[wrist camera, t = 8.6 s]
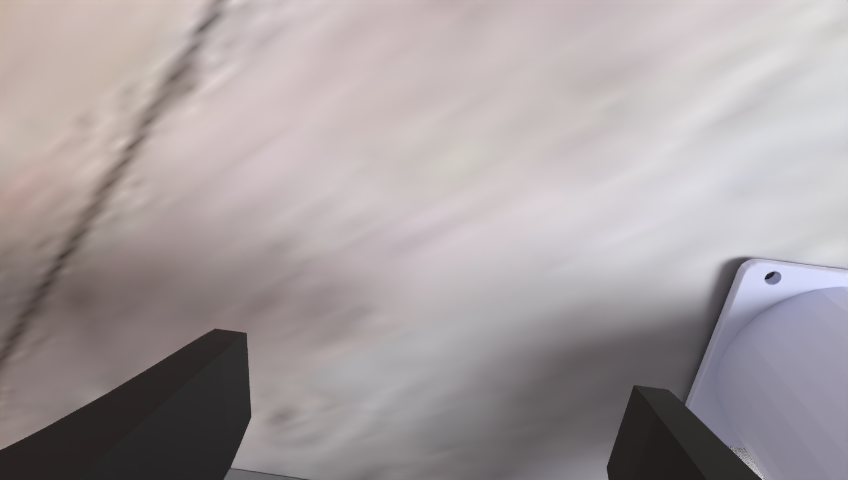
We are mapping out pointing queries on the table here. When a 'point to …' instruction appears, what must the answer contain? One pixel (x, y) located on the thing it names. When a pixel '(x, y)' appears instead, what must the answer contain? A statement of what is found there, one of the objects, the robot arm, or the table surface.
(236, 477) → the dish rack
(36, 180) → the table surface
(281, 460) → the table surface
